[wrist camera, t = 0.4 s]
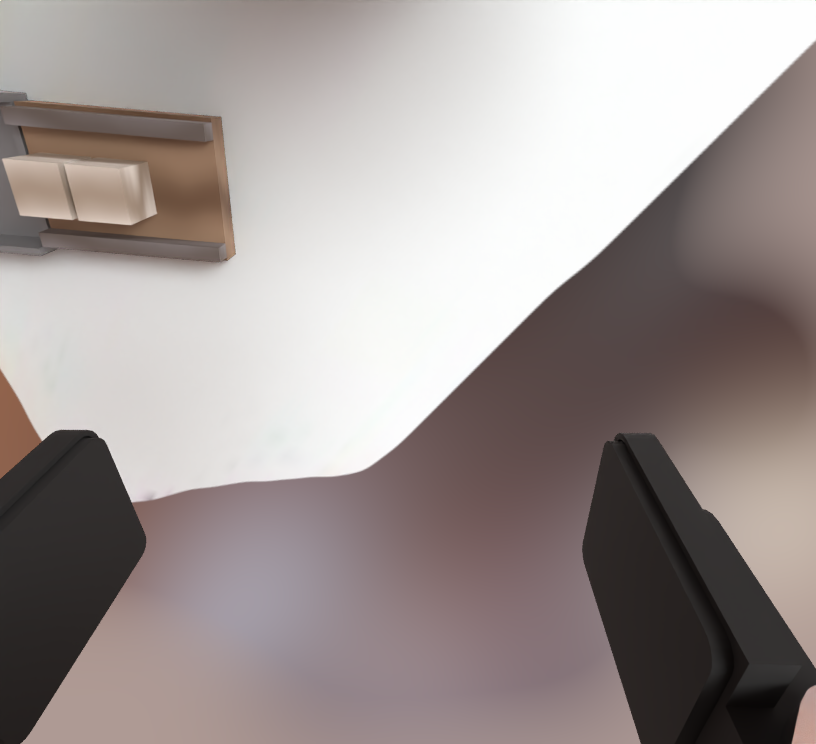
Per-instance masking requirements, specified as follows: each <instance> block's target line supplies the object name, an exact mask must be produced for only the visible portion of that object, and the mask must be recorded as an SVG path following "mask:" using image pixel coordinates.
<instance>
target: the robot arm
mask: <svg viewBox="0 0 816 744" xmlns="http://www.w3.org/2000/svg"><path fill="white" fill-rule="evenodd" d="M145 547H146V536H145V533H144V531H143V528H142V526H141V524H140V521H139V519H138V517H137V514H136V512H135V510H134V507H133V505H132V503H131V500H130V498H129V496H128V493H127V491H126V489H125V486H124V484H123V482H122V479H121V477H120V475H119V472H118V470H117V468H116V465H115V463H114V461H113V458H112V456H111V454H110V451H109V449H108V447H107V444H106V443H105V441H104V440H103V439H101V438H99V437H98V436H97V434H96V433H94V432H93V431H90V430H58V431H55V432H53V433H52V434H50V435H49V436H48V437H47V438H46V439H45V440H44V441H42V442H41V443H40V444H39V445H38V446H37V447H36V448H35V449H33V450H32V451H31V452H30V453H29V454H28V455H27V456H26V457H24V458H23V459H22V460H21V461H20V462H19V463H18V464H17V465H15V466H14V467H13V468H12V469H11V470H10V471H9V472H8V473H6V474H5V475H4V476H3V477H2V478H1V479H0V744H20V743H22V742H23V740H25V739H26V737H27V736H28V735H29V733H30V732H31V731H32V729H33V727H34V726H35V724H36V723H37V721H38V720H39V718H40V716H41V715H42V713H43V712H44V710H45V708H46V707H47V705H48V704H49V702H50V701H51V699H52V697H53V696H54V694H55V693H56V691H57V689H58V688H59V686H60V685H61V683H62V681H63V680H64V678H65V677H66V675H67V674H68V672H69V671H70V669H71V667H72V666H73V664H74V663H75V661H76V659H77V658H78V656H79V655H80V653H81V651H82V650H83V648H84V647H85V645H86V644H87V642H88V640H89V638H90V637H91V636H92V634H93V632H94V631H95V629H96V628H97V626H98V624H99V623H100V621H101V620H102V618H103V617H104V615H105V614H106V612H107V610H108V609H109V607H110V606H111V604H112V602H113V601H114V599H115V598H116V596H117V595H118V593H119V591H120V590H121V588H122V587H123V585H124V583H125V582H126V580H127V579H128V577H129V576H130V574H131V572H132V570H133V569H134V568H135V566H136V564H137V563H138V561H139V560H140V558H141V557H142V555H143V553H144V550H145ZM582 552H583V560H584V564H585V568H586V571H587V574H588V577H589V580H590V584H591V586H592V590H593V593H594V596H595V599H596V603H597V606H598V609H599V612H600V615H601V618H602V621H603V625H604V628H605V631H606V634H607V637H608V641H609V644H610V647H611V650H612V653H613V656H614V660H615V663H616V665H617V669H618V672H619V675H620V679H621V682H622V684H623V688H624V691H625V694H626V698H627V701H628V704H629V707H630V710H631V714H632V717H633V720H634V723H635V726H636V729H637V733H638V735H639V739H640V742H641V744H816V668H815V667H814V665H813V664H812V662H811V661H810V659H809V658H808V656H807V655H806V653H805V652H804V650H803V649H802V647H801V646H800V644H799V643H798V641H797V640H796V638H795V637H794V635H793V634H792V632H791V630H790V629H789V628H788V626H787V624H786V623H785V621H784V620H783V618H782V617H781V615H780V614H779V612H778V611H777V609H776V608H775V606H774V605H773V603H772V602H771V600H770V599H769V597H768V596H767V594H766V593H765V591H764V589H763V588H762V586H761V585H760V584H759V582H758V580H757V579H756V577H755V576H754V575H753V573H752V571H751V570H750V568H749V567H748V565H747V564H746V562H745V561H744V559H743V558H742V556H741V555H740V553H739V552H738V550H737V549H736V547H735V545H734V544H733V543H732V541H731V539H730V538H729V536H728V535H727V533H726V532H725V531H724V529H723V527H722V526H721V524H720V523H719V521H718V520H717V519H716V518H715V517H714V515H713V514H712V513H710V512H708V511H707V510H703V509H702V508H701V506H700V505H699V503H698V501H697V500H696V498H695V497H694V495H693V494H692V492H691V491H690V489H689V487H688V486H687V484H686V483H685V481H684V480H683V478H682V476H681V475H680V473H679V472H678V470H677V469H676V467H675V465H674V464H673V462H672V461H671V459H670V458H669V456H668V455H667V453H666V451H665V450H664V448H663V447H662V445H661V444H660V442H659V440H658V439H657V438H656V437H655V435H653V434H651V433H619V434H617V435H616V437H615V439H614V441H607V442H606V443H605V445H604V448H603V453H602V457H601V462H600V466H599V471H598V476H597V481H596V485H595V490H594V494H593V499H592V503H591V508H590V512H589V517H588V522H587V526H586V531H585V536H584V540H583V548H582Z"/></svg>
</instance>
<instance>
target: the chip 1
mask: <svg viewBox="0 0 816 744" xmlns="http://www.w3.org/2000/svg"><path fill="white" fill-rule="evenodd" d="M87 159H91V157H86V156H74V155H63V154H51V153H35V154H29V155H22V156H16V157H9V158H3V159H2V160H3V164H4V167H5V170H6V173H7V176H8V179H9V182H10V185H11V189H12V192H13V195H14V198H15V201H16V204H17V207H18V210H19V214H20V216H32V217H43V218H55V219H66V220H74V219H77V218H78V216H77V212H76V208H75V204H74V201H73V197H72V193H71V189H70V185H69V181H68V178H67V174H66V170H65V166H64V164H67V163H72V162H77V161H82V160H87Z"/></svg>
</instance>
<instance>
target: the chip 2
mask: <svg viewBox="0 0 816 744" xmlns="http://www.w3.org/2000/svg"><path fill="white" fill-rule="evenodd" d="M64 166H65V170H66V174H67V178H68V181H69V185H70V189H71V193H72V197H73V201H74V204H75V208H76V212H77V216H78V220H79V221H89V222H100V223H112V224H123V225H132V224H135V223H137V222H139V221H142V220H144V219H146V218H148V217H151V216H153V215H155V214H157V211H156V206H155V200H154V195H153V189H152V184H151V178H150V172H149V167H148V162H143V161H131V160H120V159H109V158H92V159H87V160H82V161H77V162H72V163H67V164H64Z"/></svg>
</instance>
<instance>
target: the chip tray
mask: <svg viewBox="0 0 816 744" xmlns="http://www.w3.org/2000/svg"><path fill="white" fill-rule="evenodd" d="M14 101H28V100H27V96H26V93H21V92H9V91H0V106H15V104H14ZM22 155H29V152H28V148H27V145H26V142H25V138H24V135H23V131H22V128H21V126H18V125H6V124H5V122H4V119H3V115H2V112H1V109H0V252H4V253H15V254H26V255H38V256H42V255H44V254H46V253H49V252H51V251H54V250H56V249H58V248H50V247H43V246H42V243H41V239H40V236H39V233H38V232H41V231H44V230H47V229H50V228H51V227H50V224H49V220H48V218H43V217H32V216H20V214H19V210H18V207H17V204H16V201H15V198H14V195H13V192H12V189H11V185H10V182H9V179H8V176H7V173H6V170H5V167H4V164H3V160H2V159H3V158H9V157H16V156H22Z"/></svg>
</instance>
